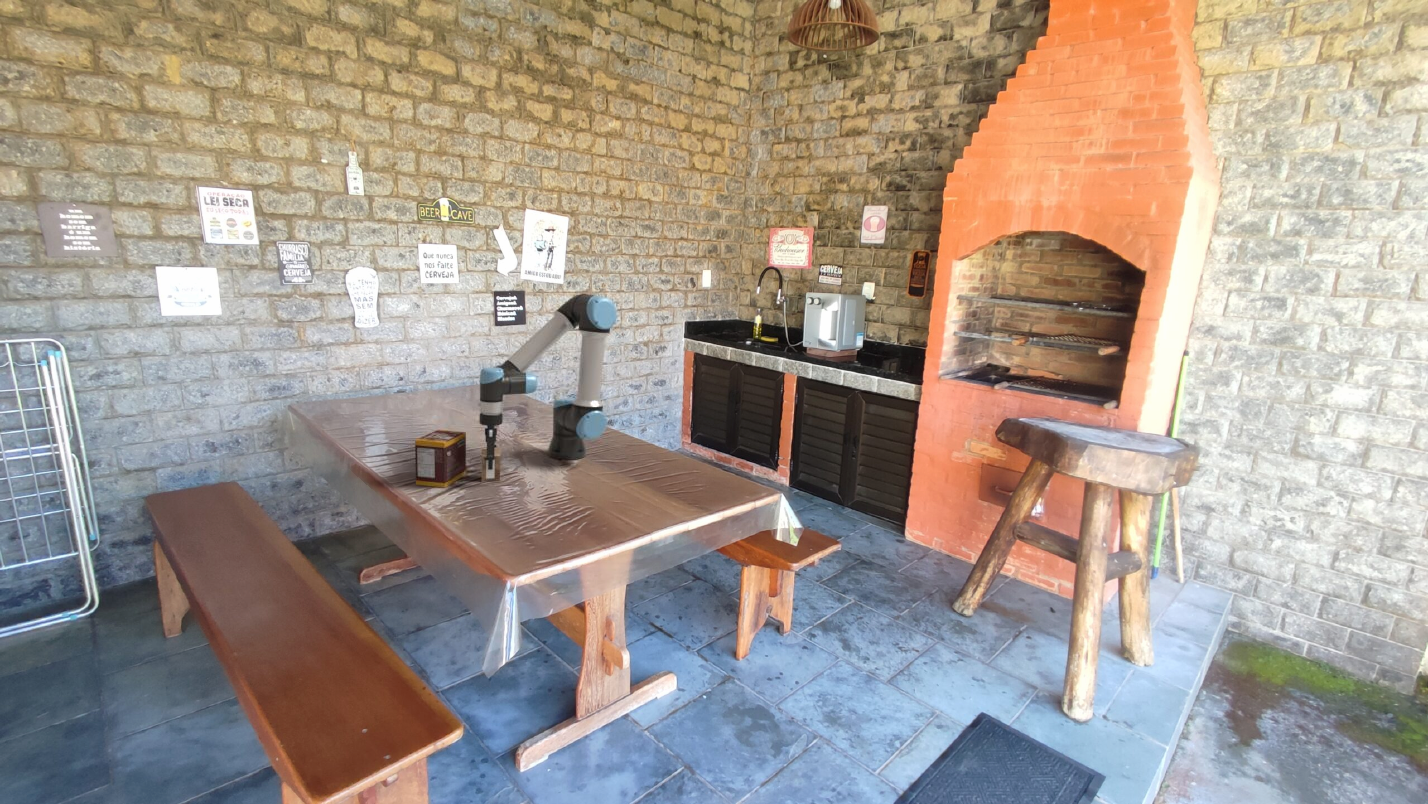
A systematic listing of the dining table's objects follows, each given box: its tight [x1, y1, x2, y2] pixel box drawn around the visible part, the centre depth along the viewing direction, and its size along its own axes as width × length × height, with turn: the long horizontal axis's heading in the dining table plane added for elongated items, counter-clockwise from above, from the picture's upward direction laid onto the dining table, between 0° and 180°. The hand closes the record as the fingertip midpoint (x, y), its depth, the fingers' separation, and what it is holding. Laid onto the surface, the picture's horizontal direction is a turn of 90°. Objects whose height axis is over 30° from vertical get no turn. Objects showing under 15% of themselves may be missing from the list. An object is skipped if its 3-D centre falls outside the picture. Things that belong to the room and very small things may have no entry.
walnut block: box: [481, 448, 501, 483], centre depth 228 cm, size 6×6×10 cm
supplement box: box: [414, 429, 467, 489], centre depth 224 cm, size 10×15×16 cm
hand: (490, 471), depth 229 cm, fingers open, 13 cm apart
